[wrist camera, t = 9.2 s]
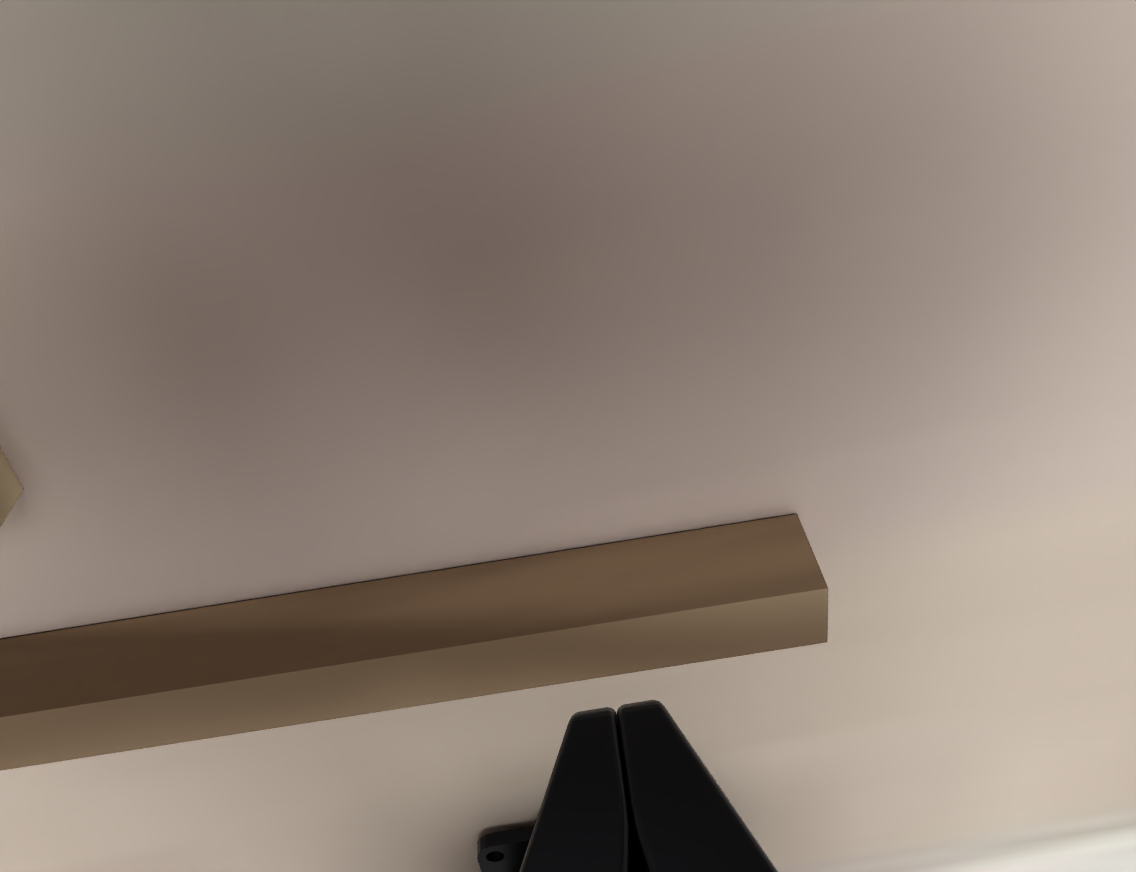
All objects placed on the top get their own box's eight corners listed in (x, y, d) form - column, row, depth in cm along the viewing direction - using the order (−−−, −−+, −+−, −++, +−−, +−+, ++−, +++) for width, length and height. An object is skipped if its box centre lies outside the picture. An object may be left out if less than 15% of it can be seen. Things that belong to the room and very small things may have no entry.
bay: (797, 566, 23) (827, 642, 21) (-172, 718, 24) (-230, 806, 22) (787, -368, 14) (841, -387, 12) (-866, -82, 14) (-1087, -54, 12)
